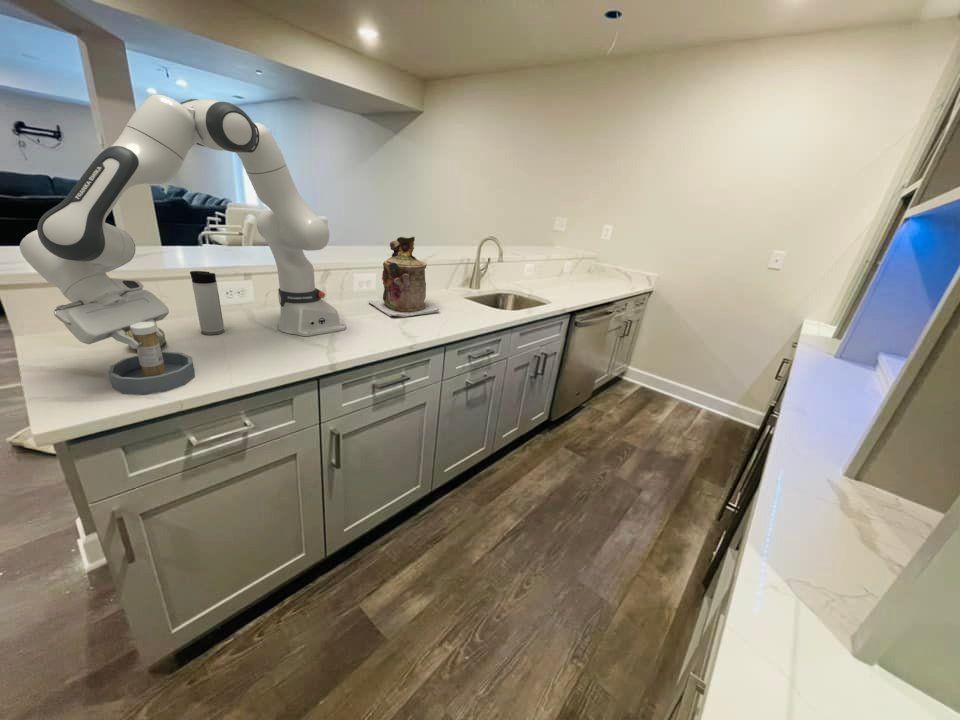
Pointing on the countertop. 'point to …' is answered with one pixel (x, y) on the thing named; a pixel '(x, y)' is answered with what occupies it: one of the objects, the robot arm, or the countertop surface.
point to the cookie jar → (404, 282)
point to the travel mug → (207, 302)
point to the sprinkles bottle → (148, 349)
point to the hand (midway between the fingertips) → (149, 342)
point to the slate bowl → (131, 381)
